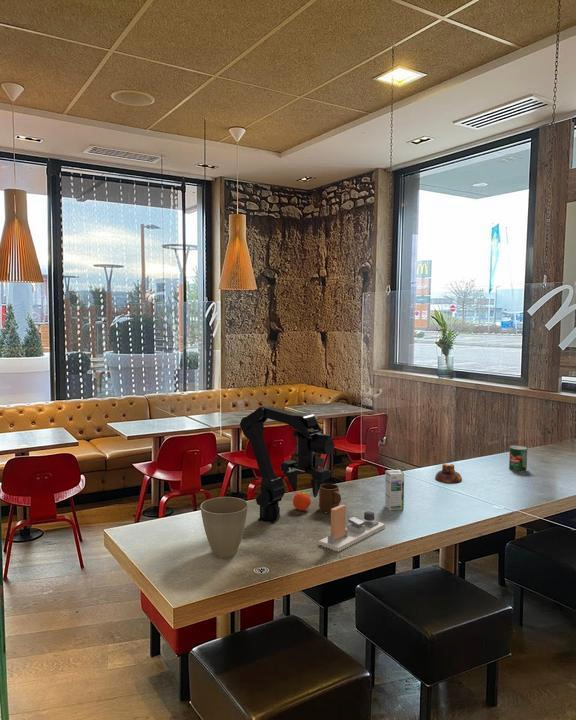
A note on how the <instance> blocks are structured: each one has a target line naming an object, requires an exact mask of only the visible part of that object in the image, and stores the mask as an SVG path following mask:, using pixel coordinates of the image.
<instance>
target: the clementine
mask: <svg viewBox="0 0 576 720" xmlns="http://www.w3.org/2000/svg"><path fill="white" fill-rule="evenodd" d="M310 495H311V496H312V494H311V493H310V492H307V491H299V492H297V493H295V494H294V496H293V498H292V505H293V506H294V508H295V509H297V510H298V511H306V510H307V509H309V508H310V505H311V503H312V502H311V497H310Z"/></svg>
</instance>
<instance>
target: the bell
mask: <svg viewBox="0 0 576 720" xmlns="http://www.w3.org/2000/svg"><path fill="white" fill-rule="evenodd" d="M441 468H442V469H441V470H439V471H437V472H436V474H435V475H434V476H435V477H434V478H435V480H437V481H438V482H440V483H444V484H458V483H461V482H462V481H463V478H462V475H461V474H460V473H459V472H458V471H456V470H455V464H453V463H451V464H447V463H443V464H442V467H441Z"/></svg>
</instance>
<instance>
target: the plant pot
mask: <svg viewBox="0 0 576 720" xmlns="http://www.w3.org/2000/svg"><path fill="white" fill-rule="evenodd" d="M248 506H249V503H248V501H247V500H245V499H243V498H238V497H233V496H220V497H213V498H210V499H207V500H204V501H203V502H202V503H201V504H200V506H199V507H200V513H201V520H202V525H203V527H204V532H205V535H206V539H207V542H208V545H209V548H210V550H211V552H212V555H213V556H214V557H215V558H219V559H228V558H232V557H234V556H235V555H237V552H238V550H239V546H240V543H241V541H242V538H243V534H244V531H245V526H246V521H247V515H248V514H247V513H248V509H249V508H248Z"/></svg>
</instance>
